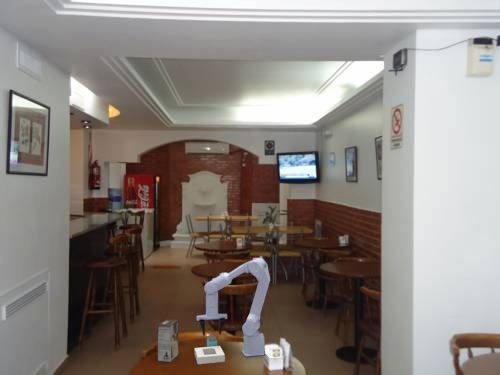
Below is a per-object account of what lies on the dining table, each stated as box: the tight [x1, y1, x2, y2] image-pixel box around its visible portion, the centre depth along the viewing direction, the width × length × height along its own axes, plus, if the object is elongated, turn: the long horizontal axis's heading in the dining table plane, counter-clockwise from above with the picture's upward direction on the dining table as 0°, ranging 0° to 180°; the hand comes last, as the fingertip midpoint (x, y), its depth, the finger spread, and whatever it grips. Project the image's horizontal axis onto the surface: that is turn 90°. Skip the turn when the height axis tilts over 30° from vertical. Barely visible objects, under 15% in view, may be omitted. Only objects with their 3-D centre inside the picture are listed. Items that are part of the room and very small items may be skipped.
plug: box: [206, 334, 218, 347], centre depth 208 cm, size 4×6×6 cm, turn 14°
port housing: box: [193, 345, 226, 365], centre depth 197 cm, size 12×12×3 cm
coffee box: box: [157, 319, 179, 363], centre depth 197 cm, size 9×6×16 cm
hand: (211, 334), depth 208 cm, fingers open, 7 cm apart
